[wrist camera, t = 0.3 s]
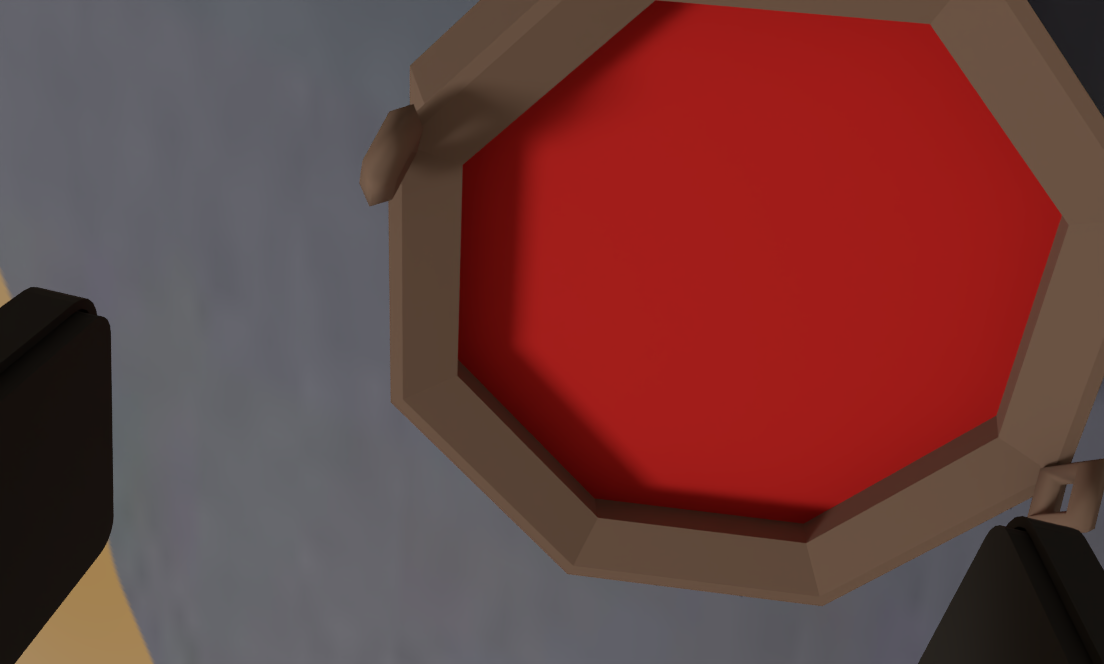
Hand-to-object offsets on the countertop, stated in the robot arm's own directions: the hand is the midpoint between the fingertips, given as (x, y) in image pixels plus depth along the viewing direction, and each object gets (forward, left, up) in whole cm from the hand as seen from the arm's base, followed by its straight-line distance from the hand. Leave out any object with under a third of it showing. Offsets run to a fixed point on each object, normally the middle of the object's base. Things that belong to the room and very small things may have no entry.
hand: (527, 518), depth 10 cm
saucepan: (+5, +5, -31) cm, 32 cm away
